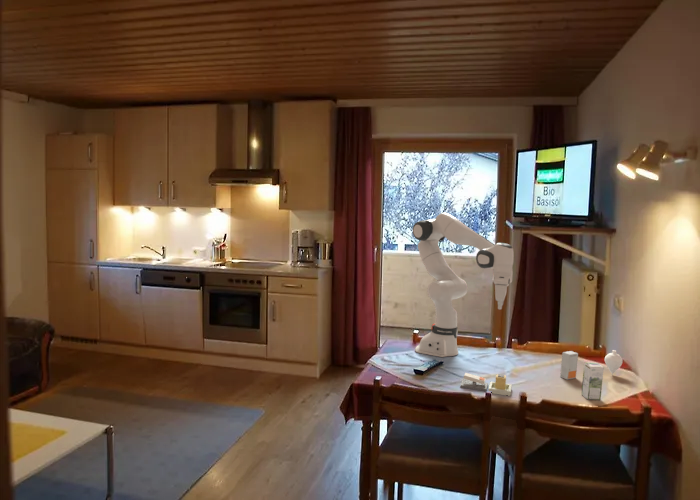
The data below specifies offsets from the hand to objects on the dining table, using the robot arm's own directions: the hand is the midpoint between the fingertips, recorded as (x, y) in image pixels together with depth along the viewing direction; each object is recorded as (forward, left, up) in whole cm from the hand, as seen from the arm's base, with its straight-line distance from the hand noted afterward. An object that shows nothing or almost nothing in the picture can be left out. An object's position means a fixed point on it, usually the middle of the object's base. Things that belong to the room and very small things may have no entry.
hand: (500, 307), depth 257 cm
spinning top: (+52, +18, -31) cm, 63 cm away
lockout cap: (+4, -26, -31) cm, 40 cm away
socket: (+4, -26, -31) cm, 41 cm away
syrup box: (+40, -18, -31) cm, 54 cm away
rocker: (-7, -25, -28) cm, 38 cm away
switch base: (-7, -25, -31) cm, 41 cm away
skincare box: (+32, +5, -31) cm, 45 cm away
